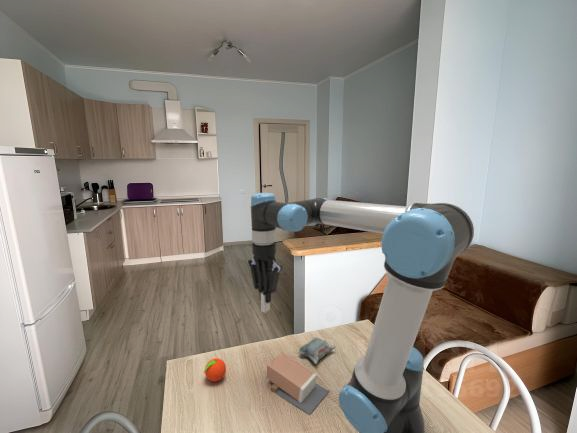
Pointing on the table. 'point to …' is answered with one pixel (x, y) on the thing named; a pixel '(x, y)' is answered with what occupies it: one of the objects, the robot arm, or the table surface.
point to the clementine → (215, 369)
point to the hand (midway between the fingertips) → (265, 310)
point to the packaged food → (316, 349)
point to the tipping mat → (308, 402)
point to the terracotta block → (291, 377)
